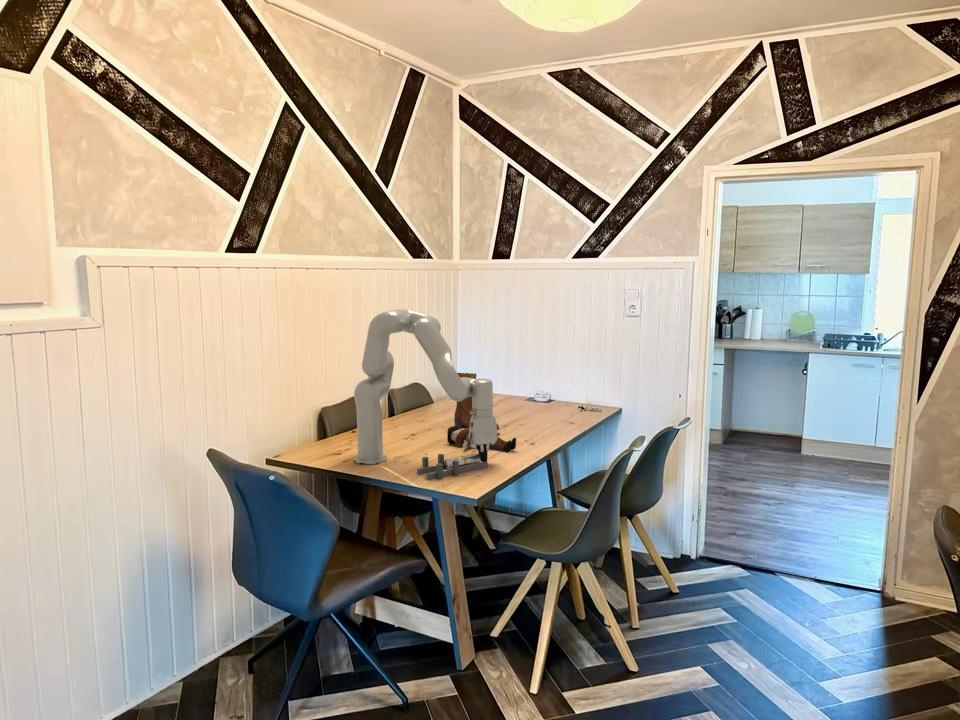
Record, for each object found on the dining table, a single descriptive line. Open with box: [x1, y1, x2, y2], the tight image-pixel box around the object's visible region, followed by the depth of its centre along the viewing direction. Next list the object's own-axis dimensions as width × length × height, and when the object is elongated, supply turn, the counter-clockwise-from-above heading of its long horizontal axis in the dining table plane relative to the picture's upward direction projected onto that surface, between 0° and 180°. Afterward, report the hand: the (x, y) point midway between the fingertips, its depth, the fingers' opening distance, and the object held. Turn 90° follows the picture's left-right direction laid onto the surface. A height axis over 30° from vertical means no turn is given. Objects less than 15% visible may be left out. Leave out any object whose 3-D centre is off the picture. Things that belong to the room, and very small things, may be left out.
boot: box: [453, 372, 501, 431], centre depth 288 cm, size 25×9×27 cm, turn 43°
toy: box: [446, 425, 517, 454], centre depth 261 cm, size 24×10×30 cm
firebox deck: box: [414, 453, 491, 483], centre depth 227 cm, size 12×25×6 cm, turn 124°
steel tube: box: [444, 453, 481, 470], centre depth 230 cm, size 13×4×5 cm, turn 123°
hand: (483, 461), depth 235 cm, fingers closed
